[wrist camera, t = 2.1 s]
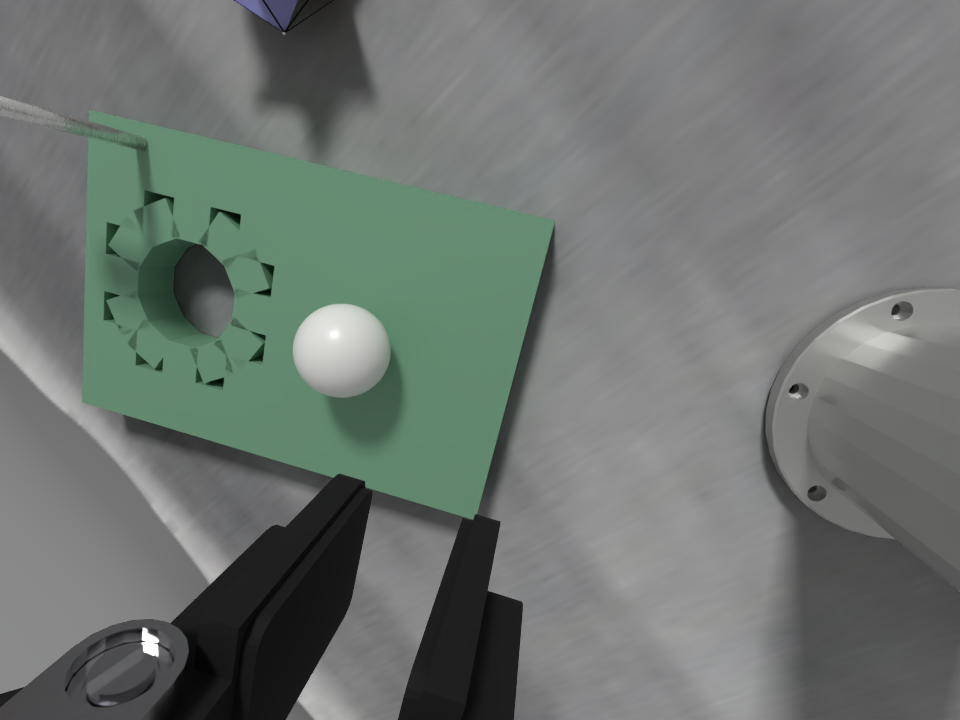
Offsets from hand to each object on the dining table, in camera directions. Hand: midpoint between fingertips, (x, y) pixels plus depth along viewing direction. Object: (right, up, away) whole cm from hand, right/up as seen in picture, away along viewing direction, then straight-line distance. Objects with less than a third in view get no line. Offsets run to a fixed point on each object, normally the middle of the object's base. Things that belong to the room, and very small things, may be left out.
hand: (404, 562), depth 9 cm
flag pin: (-16, +16, +17) cm, 28 cm away
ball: (-5, +4, +13) cm, 14 cm away
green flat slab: (-8, +7, +18) cm, 20 cm away
